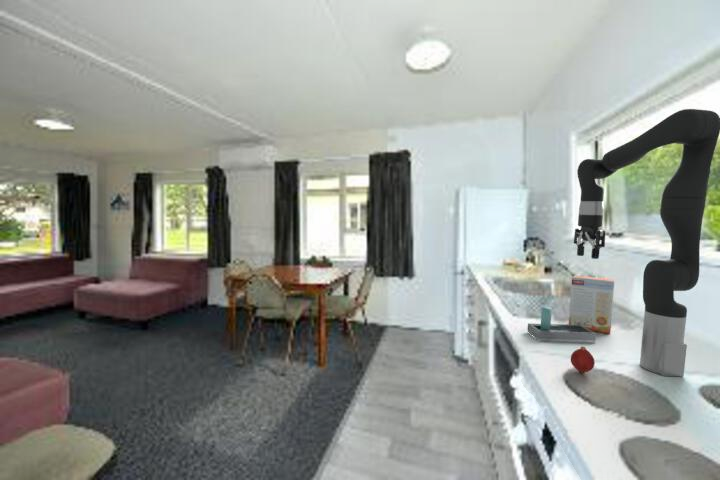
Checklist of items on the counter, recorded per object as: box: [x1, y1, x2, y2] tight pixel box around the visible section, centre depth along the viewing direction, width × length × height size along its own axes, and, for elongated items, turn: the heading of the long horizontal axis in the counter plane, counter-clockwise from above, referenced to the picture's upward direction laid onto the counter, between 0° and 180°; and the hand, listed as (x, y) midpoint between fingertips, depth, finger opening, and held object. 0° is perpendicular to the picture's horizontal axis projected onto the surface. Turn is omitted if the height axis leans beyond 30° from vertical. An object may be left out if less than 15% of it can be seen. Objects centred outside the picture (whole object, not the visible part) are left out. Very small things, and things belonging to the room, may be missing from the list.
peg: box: [539, 306, 553, 330], centre depth 126 cm, size 6×6×10 cm
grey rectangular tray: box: [527, 323, 597, 344], centre depth 127 cm, size 9×20×4 cm, turn 88°
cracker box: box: [568, 275, 615, 335], centre depth 137 cm, size 14×6×21 cm, turn 52°
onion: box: [570, 346, 595, 374], centre depth 98 cm, size 6×6×8 cm
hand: (587, 257), depth 128 cm, fingers open, 8 cm apart
